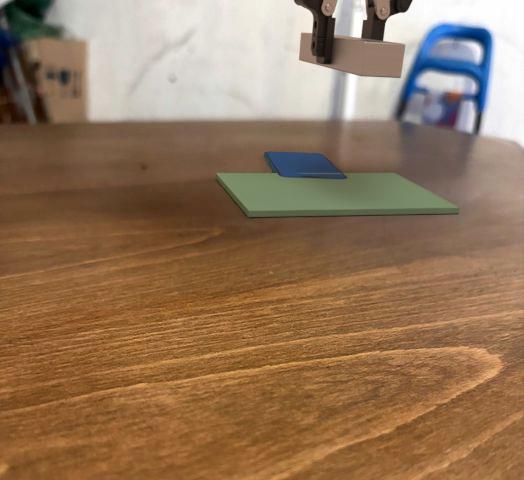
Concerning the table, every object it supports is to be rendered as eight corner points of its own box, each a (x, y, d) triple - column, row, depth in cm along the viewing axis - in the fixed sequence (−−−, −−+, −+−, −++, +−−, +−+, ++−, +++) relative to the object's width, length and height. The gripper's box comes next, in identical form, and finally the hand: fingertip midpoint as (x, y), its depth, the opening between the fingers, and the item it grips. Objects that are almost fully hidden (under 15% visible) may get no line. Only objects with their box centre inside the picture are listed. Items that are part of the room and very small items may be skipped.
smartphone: (322, 153, 82) (350, 178, 69) (321, 161, 83) (349, 188, 69) (262, 151, 81) (279, 176, 68) (262, 159, 82) (278, 186, 68)
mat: (394, 178, 73) (394, 172, 73) (458, 213, 61) (459, 207, 61) (215, 178, 68) (215, 172, 68) (248, 217, 56) (248, 210, 56)
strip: (298, 60, 66) (300, 32, 65) (331, 61, 67) (334, 34, 66) (360, 76, 52) (364, 41, 51) (401, 78, 53) (406, 43, 52)
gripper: (298, -201, 47) (281, 65, 55) (476, -174, 50) (436, 72, 58) (270, -177, 53) (258, 58, 61) (429, -154, 57) (399, 64, 65)
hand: (345, 63), depth 60 cm, fingers closed on strip, 3 cm apart
